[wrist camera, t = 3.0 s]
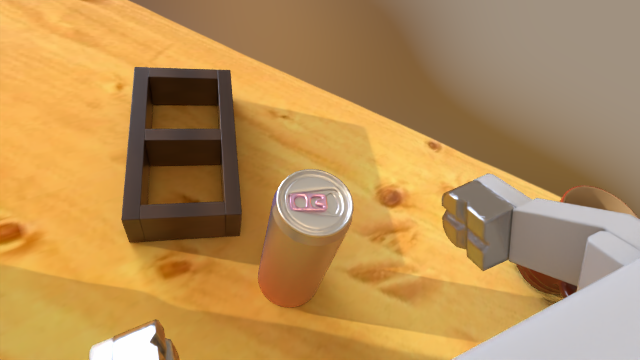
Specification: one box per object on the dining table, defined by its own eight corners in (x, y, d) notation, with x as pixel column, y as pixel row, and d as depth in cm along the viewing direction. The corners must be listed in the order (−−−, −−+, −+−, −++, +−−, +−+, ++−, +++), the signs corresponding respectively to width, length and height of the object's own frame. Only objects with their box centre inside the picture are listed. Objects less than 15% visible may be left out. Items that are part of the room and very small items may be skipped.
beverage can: (256, 252, 44) (272, 165, 32) (314, 251, 46) (350, 167, 34) (258, 311, 41) (275, 238, 29) (320, 308, 42) (362, 238, 30)
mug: (501, 224, 52) (554, 176, 44) (569, 241, 53) (635, 196, 45) (510, 324, 45) (576, 288, 37) (589, 342, 46) (672, 311, 38)
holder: (129, 242, 43) (121, 220, 39) (140, 95, 53) (134, 66, 49) (239, 235, 45) (241, 214, 42) (229, 97, 56) (230, 69, 52)
